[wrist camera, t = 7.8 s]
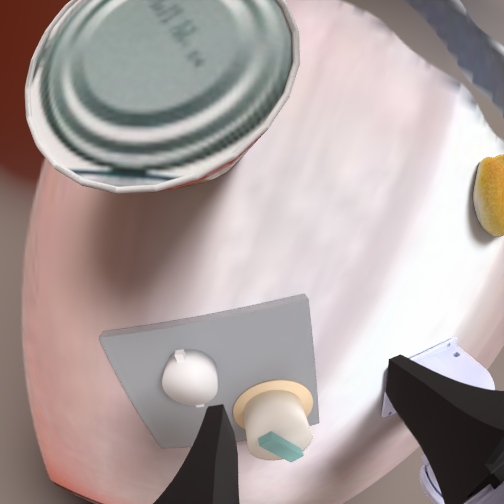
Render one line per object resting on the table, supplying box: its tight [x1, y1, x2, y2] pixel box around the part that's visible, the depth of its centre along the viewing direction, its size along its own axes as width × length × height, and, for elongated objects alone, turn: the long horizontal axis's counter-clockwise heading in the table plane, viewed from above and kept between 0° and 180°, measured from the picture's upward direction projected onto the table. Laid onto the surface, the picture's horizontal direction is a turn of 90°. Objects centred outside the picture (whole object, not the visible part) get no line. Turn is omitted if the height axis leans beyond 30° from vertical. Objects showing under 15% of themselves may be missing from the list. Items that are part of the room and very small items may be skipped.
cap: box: [244, 390, 313, 462], centre depth 19 cm, size 5×5×5 cm
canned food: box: [25, 0, 300, 194], centre depth 11 cm, size 8×8×12 cm
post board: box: [99, 294, 319, 448], centre depth 20 cm, size 16×14×3 cm
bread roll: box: [473, 155, 504, 236], centre depth 19 cm, size 8×9×4 cm
